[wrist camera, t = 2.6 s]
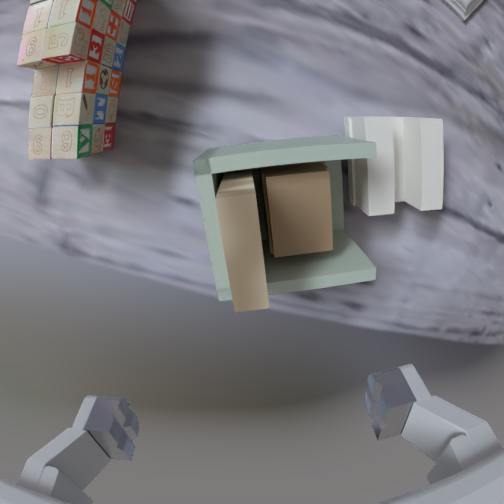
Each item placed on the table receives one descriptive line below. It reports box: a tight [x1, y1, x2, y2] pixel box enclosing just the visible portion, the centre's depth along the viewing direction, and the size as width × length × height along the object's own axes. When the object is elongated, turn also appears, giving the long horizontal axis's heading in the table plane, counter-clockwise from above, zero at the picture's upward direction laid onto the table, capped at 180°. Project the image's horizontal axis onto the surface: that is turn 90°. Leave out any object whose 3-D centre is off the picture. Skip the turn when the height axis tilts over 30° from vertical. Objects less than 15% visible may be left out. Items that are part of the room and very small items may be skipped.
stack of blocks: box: [17, 0, 137, 159], centre depth 22 cm, size 21×6×12 cm, turn 172°
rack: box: [193, 135, 377, 301], centre depth 30 cm, size 14×12×11 cm
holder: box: [344, 117, 444, 216], centre depth 31 cm, size 10×10×6 cm
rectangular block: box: [215, 168, 269, 312], centre depth 27 cm, size 2×8×15 cm, turn 7°
